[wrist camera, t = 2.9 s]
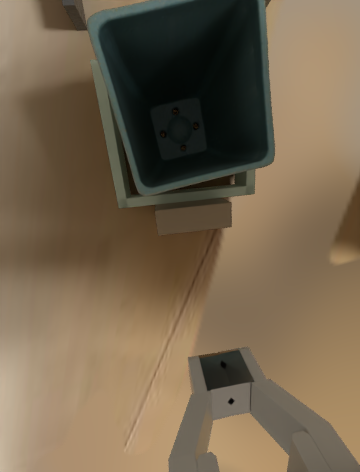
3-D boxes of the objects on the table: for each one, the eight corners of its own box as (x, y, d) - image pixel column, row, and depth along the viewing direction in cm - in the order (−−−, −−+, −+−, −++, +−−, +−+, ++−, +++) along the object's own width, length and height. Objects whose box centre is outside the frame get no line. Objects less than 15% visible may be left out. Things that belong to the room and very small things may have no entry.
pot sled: (243, 70, 18) (282, 21, 12) (241, 209, 22) (270, 222, 16) (101, 79, 17) (72, 31, 11) (127, 221, 21) (116, 240, 15)
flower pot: (147, 187, 20) (138, 199, 12) (119, 90, 17) (81, 12, 9) (228, 167, 20) (277, 163, 12) (214, 67, 18) (264, -32, 9)
